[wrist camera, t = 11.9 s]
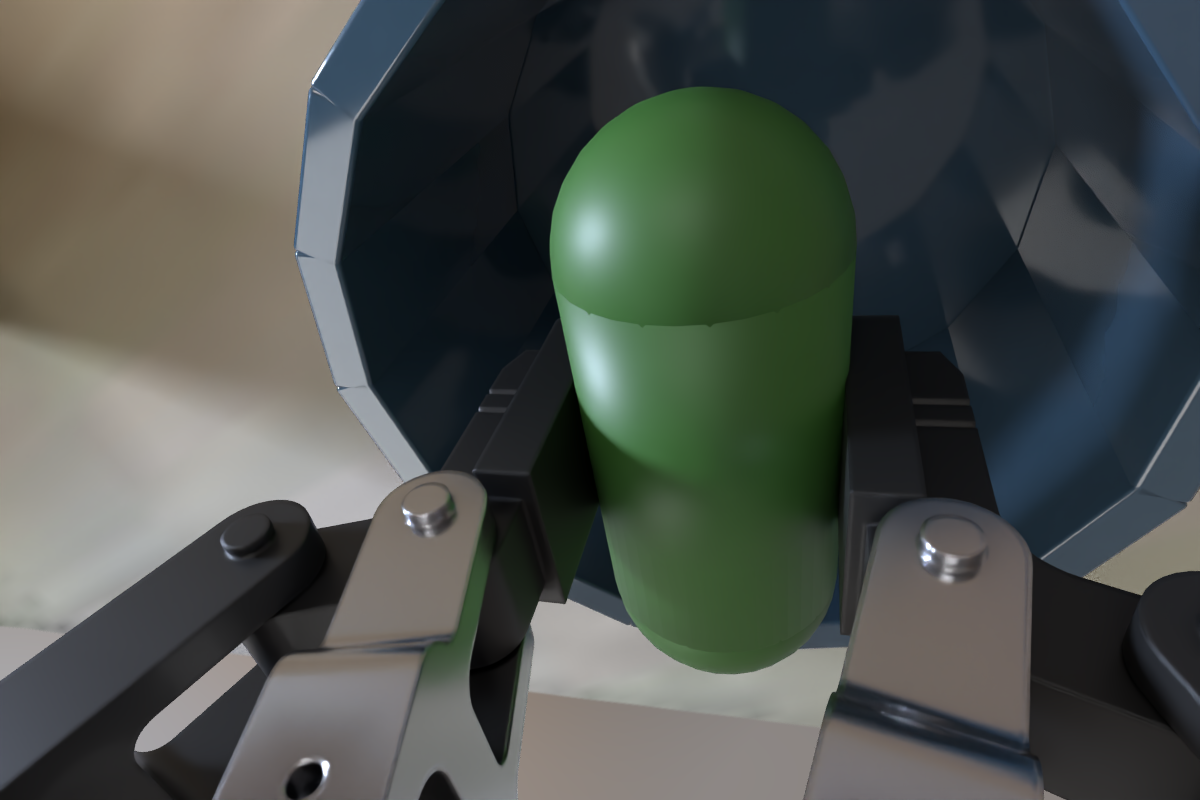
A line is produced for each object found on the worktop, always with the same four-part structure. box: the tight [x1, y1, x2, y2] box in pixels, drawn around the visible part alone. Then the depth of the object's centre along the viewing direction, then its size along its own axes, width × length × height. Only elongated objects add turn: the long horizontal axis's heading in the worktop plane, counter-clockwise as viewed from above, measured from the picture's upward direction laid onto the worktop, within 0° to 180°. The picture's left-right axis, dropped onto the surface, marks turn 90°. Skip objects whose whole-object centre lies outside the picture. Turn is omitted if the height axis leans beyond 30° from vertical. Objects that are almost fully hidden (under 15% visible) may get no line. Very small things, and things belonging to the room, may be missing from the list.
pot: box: [294, 0, 1200, 649], centre depth 14 cm, size 14×14×8 cm
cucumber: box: [550, 87, 857, 674], centre depth 10 cm, size 9×3×3 cm, turn 10°
